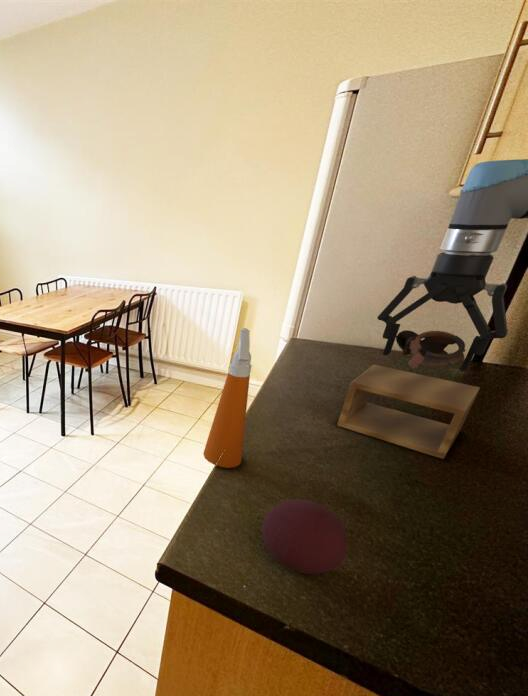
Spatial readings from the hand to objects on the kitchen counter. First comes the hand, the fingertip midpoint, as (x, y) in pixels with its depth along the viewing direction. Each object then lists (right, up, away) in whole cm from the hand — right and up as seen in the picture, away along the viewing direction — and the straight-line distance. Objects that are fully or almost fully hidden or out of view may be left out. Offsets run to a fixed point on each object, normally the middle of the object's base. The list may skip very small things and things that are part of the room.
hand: (423, 360), depth 86 cm
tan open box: (0, -15, +7) cm, 16 cm away
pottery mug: (0, -1, 0) cm, 1 cm away
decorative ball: (-45, -31, -26) cm, 60 cm away
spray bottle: (-43, -20, 0) cm, 47 cm away
